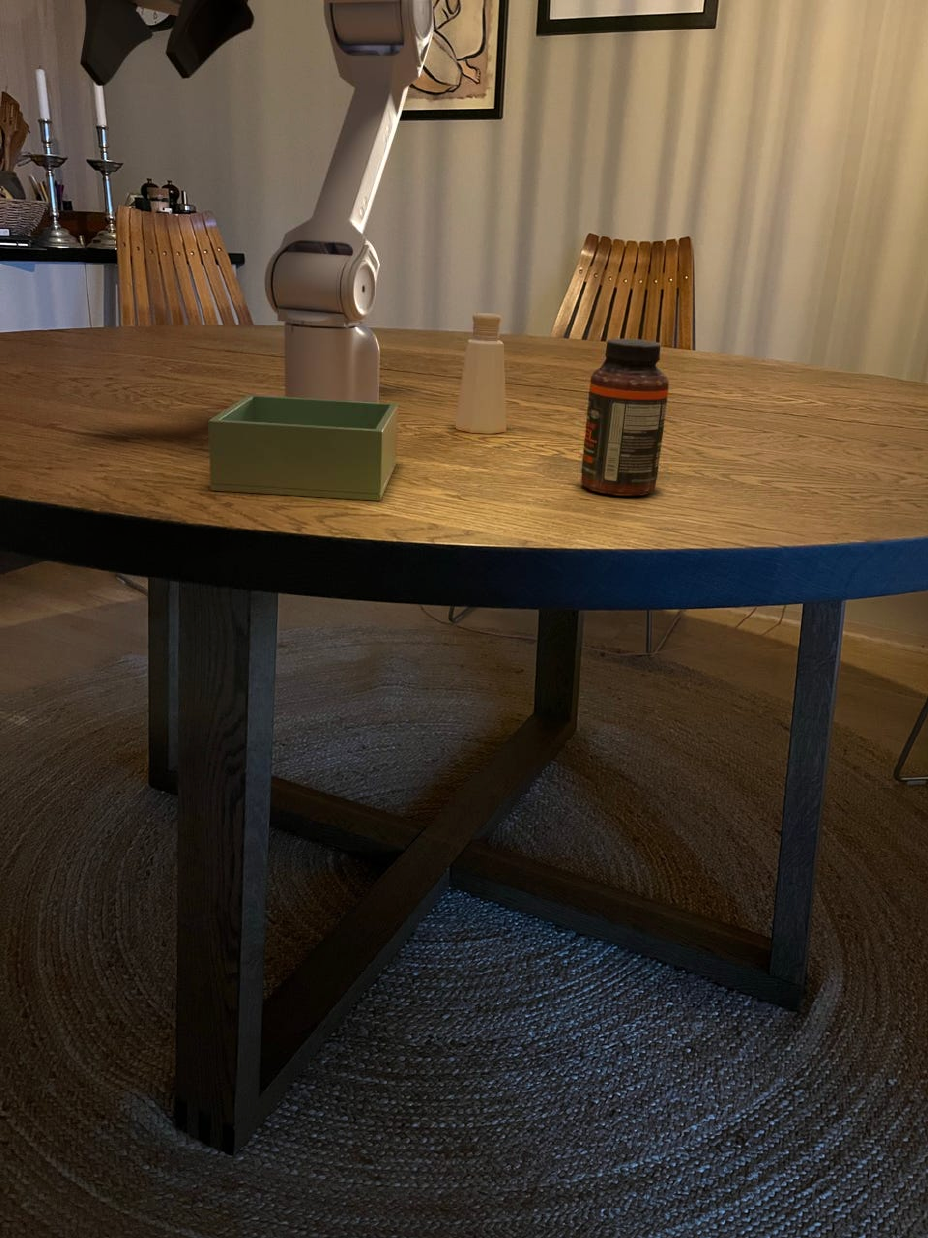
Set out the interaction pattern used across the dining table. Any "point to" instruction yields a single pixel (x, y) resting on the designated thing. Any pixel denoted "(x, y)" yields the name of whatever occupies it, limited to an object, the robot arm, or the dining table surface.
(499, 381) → the pepper shaker
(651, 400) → the supplement bottle
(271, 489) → the storage bin
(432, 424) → the dining table surface
